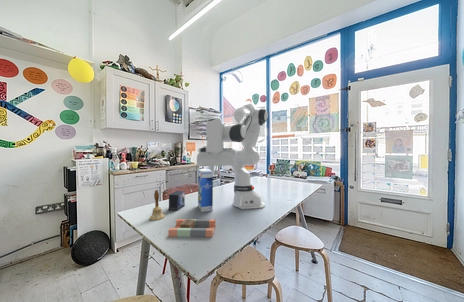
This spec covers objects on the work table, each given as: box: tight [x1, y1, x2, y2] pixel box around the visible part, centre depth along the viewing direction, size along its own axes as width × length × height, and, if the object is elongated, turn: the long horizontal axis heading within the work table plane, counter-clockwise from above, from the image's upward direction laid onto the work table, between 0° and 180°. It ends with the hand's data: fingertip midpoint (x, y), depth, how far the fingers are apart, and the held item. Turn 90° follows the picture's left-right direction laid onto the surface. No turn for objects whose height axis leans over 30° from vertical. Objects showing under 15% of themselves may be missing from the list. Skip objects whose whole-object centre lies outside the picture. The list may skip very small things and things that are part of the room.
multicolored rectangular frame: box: [167, 218, 217, 238], centre depth 84 cm, size 20×12×3 cm, turn 88°
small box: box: [168, 190, 186, 212], centre depth 115 cm, size 11×6×10 cm, turn 168°
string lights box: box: [197, 168, 214, 213], centre depth 115 cm, size 13×8×26 cm, turn 21°
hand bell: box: [148, 189, 166, 222], centre depth 100 cm, size 8×8×16 cm
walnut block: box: [180, 218, 196, 228], centre depth 85 cm, size 5×6×4 cm
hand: (216, 174), depth 93 cm, fingers closed
